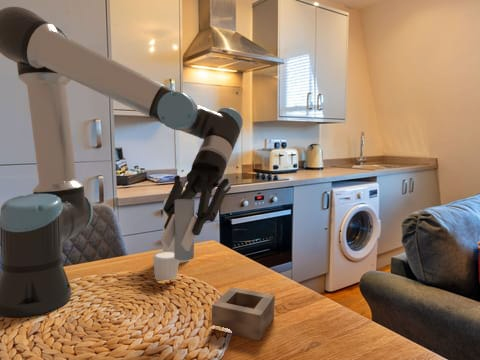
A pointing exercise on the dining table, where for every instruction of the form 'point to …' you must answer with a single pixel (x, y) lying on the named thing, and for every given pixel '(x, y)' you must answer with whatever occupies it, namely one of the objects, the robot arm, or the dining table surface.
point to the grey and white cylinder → (165, 265)
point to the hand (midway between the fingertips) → (174, 245)
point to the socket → (244, 312)
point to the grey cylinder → (183, 227)
